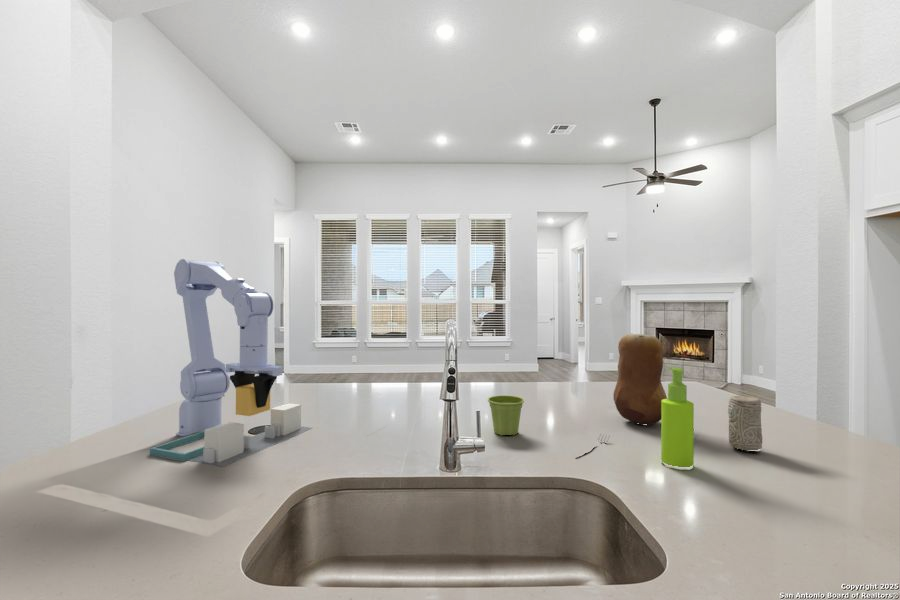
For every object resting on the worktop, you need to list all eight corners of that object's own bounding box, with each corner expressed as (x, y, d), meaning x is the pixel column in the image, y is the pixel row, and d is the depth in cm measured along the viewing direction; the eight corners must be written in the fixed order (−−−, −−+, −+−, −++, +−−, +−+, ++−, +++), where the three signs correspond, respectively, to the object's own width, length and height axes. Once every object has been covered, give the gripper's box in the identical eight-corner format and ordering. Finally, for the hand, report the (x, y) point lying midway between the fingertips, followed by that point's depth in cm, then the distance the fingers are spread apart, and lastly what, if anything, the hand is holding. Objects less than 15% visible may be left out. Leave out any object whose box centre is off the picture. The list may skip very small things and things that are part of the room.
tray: (149, 461, 88) (149, 448, 88) (208, 441, 101) (209, 429, 101) (184, 468, 85) (184, 454, 85) (240, 446, 98) (241, 434, 98)
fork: (569, 459, 92) (569, 449, 92) (600, 441, 104) (600, 433, 104) (581, 462, 90) (581, 452, 90) (610, 443, 102) (610, 435, 102)
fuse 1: (204, 459, 86) (204, 429, 86) (229, 449, 91) (229, 421, 91) (219, 462, 84) (219, 431, 84) (243, 452, 90) (243, 423, 90)
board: (188, 467, 85) (188, 448, 85) (284, 429, 110) (284, 414, 110) (222, 474, 82) (222, 453, 82) (312, 433, 107) (312, 418, 107)
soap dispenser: (689, 460, 90) (689, 366, 90) (696, 472, 84) (696, 371, 84) (658, 456, 92) (658, 364, 92) (663, 468, 86) (663, 369, 86)
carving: (764, 449, 97) (764, 397, 97) (759, 458, 92) (759, 402, 92) (731, 443, 102) (731, 393, 102) (725, 451, 96) (725, 398, 96)
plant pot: (482, 436, 106) (482, 401, 106) (493, 425, 115) (493, 393, 115) (519, 440, 103) (519, 404, 103) (527, 429, 111) (527, 396, 111)
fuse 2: (270, 433, 102) (270, 408, 102) (288, 426, 108) (288, 403, 108) (283, 435, 101) (284, 410, 101) (300, 428, 107) (300, 404, 107)
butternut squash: (670, 421, 120) (670, 333, 120) (664, 433, 109) (665, 336, 109) (618, 414, 127) (618, 331, 127) (608, 425, 116) (608, 333, 116)
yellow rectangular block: (235, 414, 94) (235, 387, 94) (256, 408, 99) (256, 382, 99) (249, 416, 92) (249, 388, 92) (270, 409, 98) (270, 383, 98)
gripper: (214, 346, 95) (214, 406, 95) (265, 349, 90) (265, 413, 90) (240, 343, 101) (239, 400, 101) (289, 345, 96) (288, 405, 96)
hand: (253, 405), depth 96 cm, fingers closed on yellow rectangular block, 4 cm apart
